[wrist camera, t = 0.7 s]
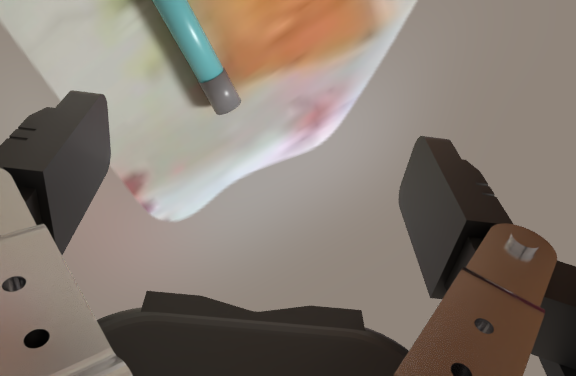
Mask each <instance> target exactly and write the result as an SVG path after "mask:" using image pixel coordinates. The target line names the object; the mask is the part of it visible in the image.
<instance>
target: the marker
mask: <svg viewBox="0 0 576 376" xmlns="http://www.w3.org/2000/svg"><path fill="white" fill-rule="evenodd" d="M152 1H153V3H154V5H155V6H156V8H157V10H158V12H159V13H160V15H161V17H162V18H163V20H164V22H165V24H166V25H167V27H168V29H169V31H170V32H171V34H172V36H173V38H174V39H175V41H176V43H177V45H178V46H179V48H180V50H181V52H182V53H183V55H184V57H185V58H186V60H187V62H188V64H189V65H190V67H191V69H192V71H193V72H194V74H195V76H196V78H197V79H198V83H199V84H200V86H201V88H202V90H203V91H204V93H205V95H206V97H207V98H208V100H209V102H210V104H211V105H212V107H213V109H214V111H215V112H216V114H218V115H222V114H226V113H228V112H230V111H232V110H234V109H235V108H236V107H237V106H239V104H240V103H241V99H240V97H239V95H238V93H237V92H236V90H235V88H234V86H233V84H232V82H231V80H230V78H229V77H228V75H227V73H226V71H225V69H224V68H223V67H222V65H221V63H220V61H219V59H218V58H217V56H216V54H215V52H214V50H213V48H212V46H211V44H210V43H209V41H208V39H207V37H206V35H205V33H204V31H203V29H202V27H201V26H200V24H199V22H198V20H197V18H196V16H195V14H194V12H193V11H192V9H191V7H190V5H189V3H188V1H187V0H152Z"/></svg>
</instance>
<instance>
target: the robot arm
mask: <svg viewBox="0 0 576 376" xmlns="http://www.w3.org/2000/svg"><path fill="white" fill-rule="evenodd" d="M110 155H111V149H110V135H109V122H108V109H107V101H106V98H105V96H104V95H103V94H96V93H88V92H80V91H70V92H69V93H68V94H67V95H66V96H65V98H64V99H63V100H62V101H61V102H60V103H59V104H58V105H57V107H56V108H50V107H47V108H44V109H42V110H40V111H38V112H36V113H34V114H32V115H30V116H29V117H27V118H26V119H25V120H24V122H23V123H22V124H21V125H20V126H19V127H18V129H16V130H15V131H14V132H13V133H12V134H11V135H10V138H9V139H6V140H5V141H4V142H3V143H2V144H1V145H0V376H523V374H524V371H525V369H526V366H527V363H528V360H529V357H530V354H533V355H536V356H538V357H539V359H540V361H541V364H542V365H543V368H544V370H545V372H546V374H547V376H576V267H575V266H572V265H569V264H565V263H563V262H560V261H557V254H556V252H555V250H554V248H553V247H552V246H551V245H550V243H549V242H548V241H546V240H545V239H544V238H543V237H541V236H540V235H538V234H537V233H535V232H533V231H531V230H529V229H526V228H524V227H522V226H518V225H514V224H513V223H512V221H511V219H510V218H509V216H508V215H507V213H506V212H505V210H504V208H503V207H502V205H501V204H500V202H499V201H498V199H497V197H494V193H493V191H492V189H491V188H490V187H489V186H488V183H487V182H486V180H485V178H484V177H483V175H482V174H481V173H480V171H479V170H478V169H476V168H475V167H474V166H473V165H471V164H470V163H469V162H468V161H466V160H462V159H461V158H460V156H459V154H458V152H457V151H456V149H455V147H454V146H453V144H452V142H451V141H450V140H447V139H441V138H433V137H425V136H420V137H419V138H418V139H417V141H416V143H415V145H414V148H413V151H412V154H411V157H410V160H409V162H408V165H407V168H406V171H405V174H404V177H403V180H402V183H401V186H400V190H399V207H400V210H401V213H402V216H403V219H404V222H405V225H406V228H407V231H408V233H409V236H410V239H411V243H412V245H413V248H414V251H415V254H416V257H417V260H418V263H419V266H420V269H421V272H422V275H423V278H424V281H425V284H426V287H427V290H428V293H429V295H430V298H437V299H442V301H441V302H440V303H439V305H438V307H437V308H436V310H435V311H434V313H433V314H432V316H431V318H430V319H429V321H428V322H427V324H426V325H425V327H424V328H423V330H422V331H421V333H420V335H419V336H418V338H417V339H416V341H415V342H414V344H413V345H412V347H411V349H410V350H409V351H408V350H407V349H406V348H405V347H403V346H402V345H400V344H398V343H397V342H396V341H394V340H392V339H390V338H389V337H386V336H385V335H383V334H381V333H378V332H376V331H374V330H371V329H368V328H365V327H364V322H363V317H362V311H361V310H352V309H341V308H329V307H318V306H304V307H296V308H288V309H280V310H271V311H264V312H253V311H249V310H246V309H243V308H240V307H236V306H233V305H230V304H226V303H223V302H220V301H217V300H213V299H210V298H207V297H203V296H197V295H186V294H175V293H164V292H152V291H147V292H146V296H145V299H144V302H143V305H142V308H136V309H130V310H126V311H121V312H118V313H115V314H112V315H108V316H106V317H103V318H101V319H99V320H96V319H95V317H94V315H93V313H92V311H91V309H90V307H89V305H88V303H87V302H86V300H85V298H84V296H83V294H82V292H81V290H80V289H79V287H78V285H77V283H76V281H75V279H74V277H73V275H72V273H71V272H70V270H69V268H68V266H67V264H66V262H65V261H64V259H63V257H62V255H63V253H64V251H65V249H66V247H67V245H68V244H69V242H70V240H71V238H72V236H73V234H74V233H75V230H76V229H77V227H78V225H79V223H80V221H81V220H82V218H83V216H84V214H85V212H86V211H87V209H88V207H89V205H90V203H91V201H92V199H93V198H94V196H95V194H96V192H97V190H98V188H99V187H100V185H101V183H102V181H103V179H104V177H105V176H106V174H107V171H108V168H109V164H110Z"/></svg>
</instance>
